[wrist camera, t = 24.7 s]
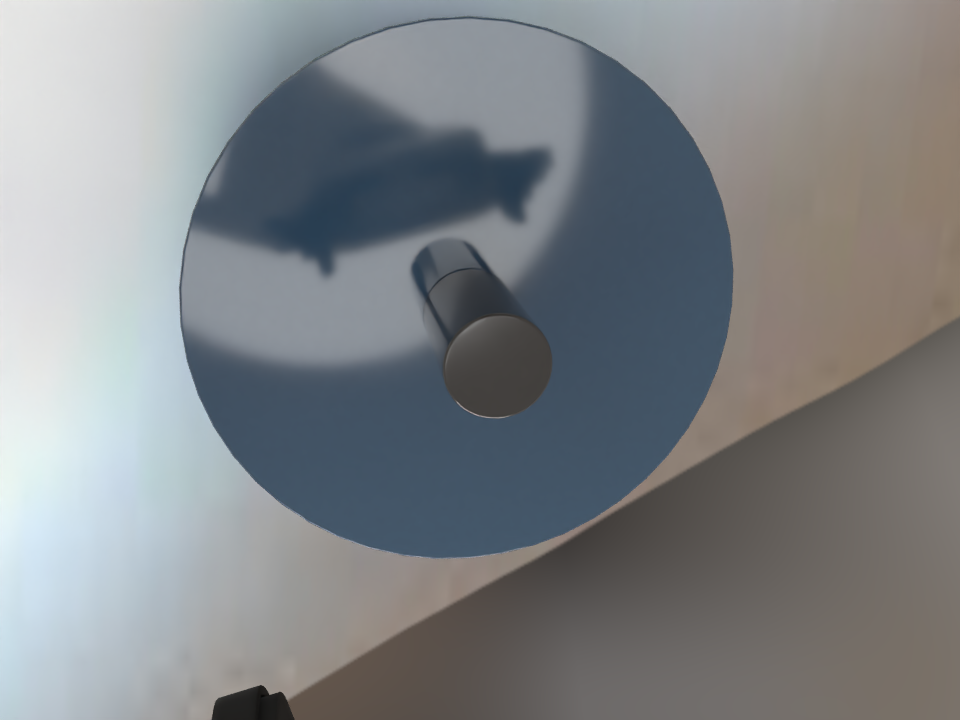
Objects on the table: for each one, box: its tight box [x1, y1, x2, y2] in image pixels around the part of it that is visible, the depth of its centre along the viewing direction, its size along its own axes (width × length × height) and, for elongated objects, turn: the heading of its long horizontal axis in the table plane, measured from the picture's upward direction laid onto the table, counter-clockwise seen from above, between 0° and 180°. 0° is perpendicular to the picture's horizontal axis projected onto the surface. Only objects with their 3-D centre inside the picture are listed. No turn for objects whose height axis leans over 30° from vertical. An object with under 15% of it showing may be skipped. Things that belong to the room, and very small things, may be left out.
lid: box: [179, 16, 733, 559], centre depth 25 cm, size 17×17×6 cm
